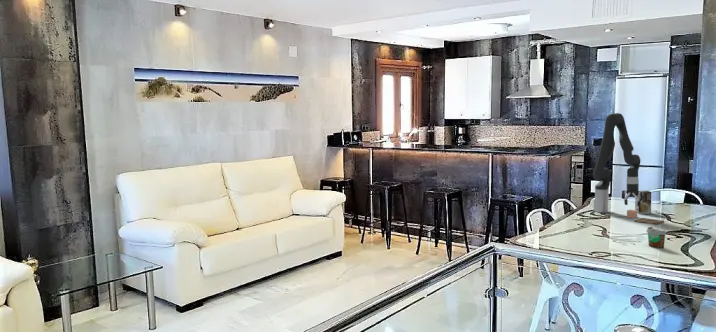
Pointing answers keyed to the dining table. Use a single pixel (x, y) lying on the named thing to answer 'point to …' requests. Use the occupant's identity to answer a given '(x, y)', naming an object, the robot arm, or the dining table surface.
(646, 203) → the coffee box
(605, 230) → the dining table surface
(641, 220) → the walnut board
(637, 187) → the robot arm
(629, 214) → the terracotta cube
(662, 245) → the food container
